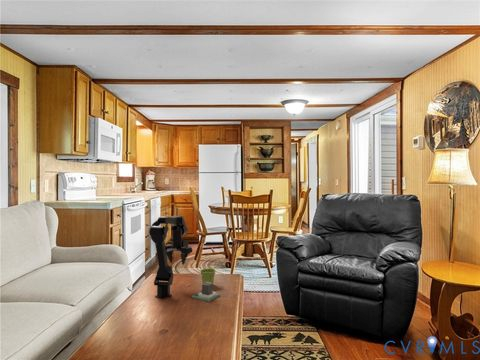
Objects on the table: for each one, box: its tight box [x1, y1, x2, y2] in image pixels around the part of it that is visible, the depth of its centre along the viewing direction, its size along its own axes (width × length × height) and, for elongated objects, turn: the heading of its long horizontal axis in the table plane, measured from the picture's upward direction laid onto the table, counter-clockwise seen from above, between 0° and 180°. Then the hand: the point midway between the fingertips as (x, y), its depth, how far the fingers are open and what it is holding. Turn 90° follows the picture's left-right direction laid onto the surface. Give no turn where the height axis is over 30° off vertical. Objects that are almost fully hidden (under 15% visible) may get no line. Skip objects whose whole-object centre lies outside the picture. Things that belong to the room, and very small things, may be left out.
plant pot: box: [199, 268, 217, 285], centre depth 207 cm, size 9×9×9 cm
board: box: [191, 290, 220, 302], centre depth 187 cm, size 10×11×2 cm
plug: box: [201, 282, 214, 295], centre depth 186 cm, size 4×4×6 cm
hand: (177, 263), depth 206 cm, fingers open, 9 cm apart
